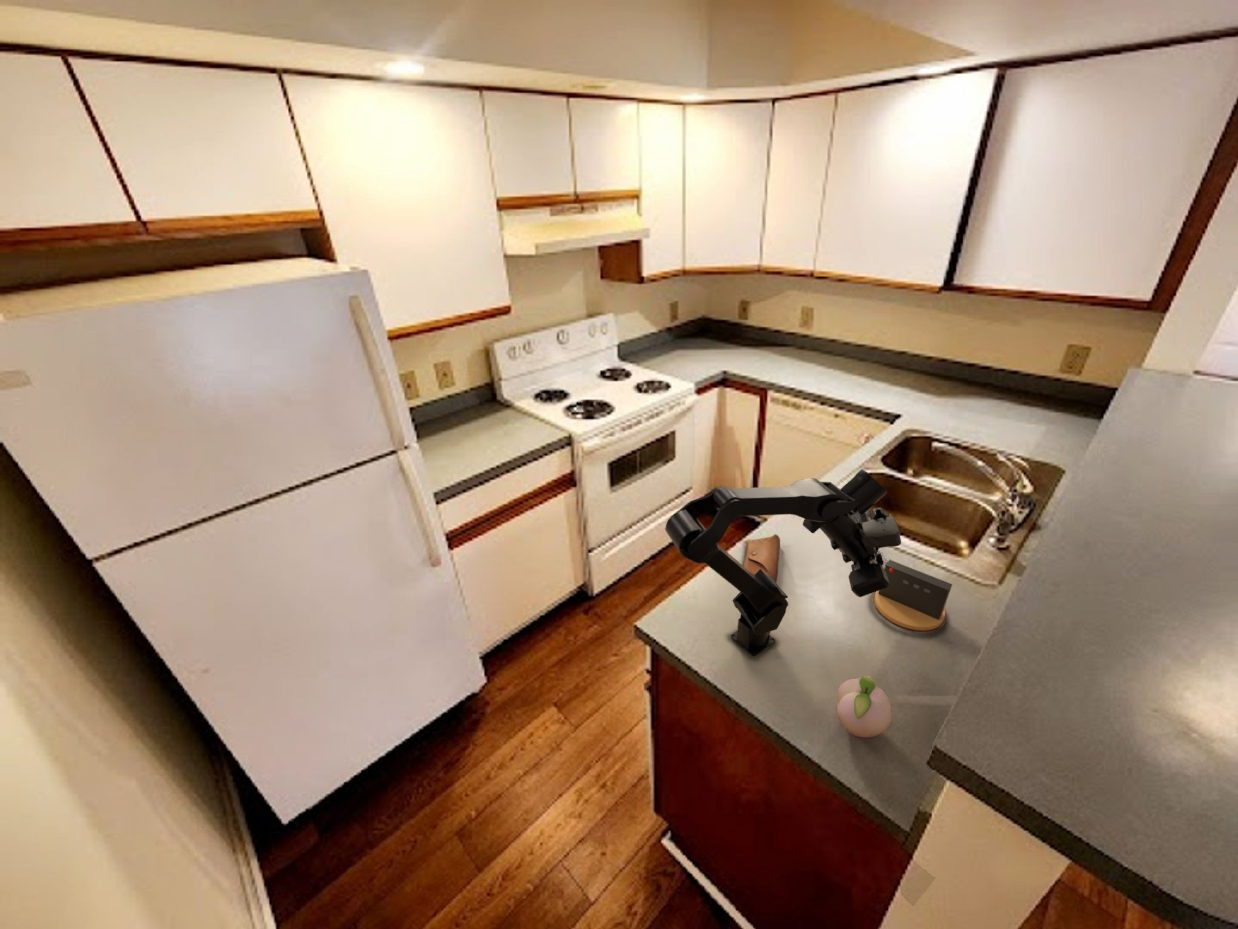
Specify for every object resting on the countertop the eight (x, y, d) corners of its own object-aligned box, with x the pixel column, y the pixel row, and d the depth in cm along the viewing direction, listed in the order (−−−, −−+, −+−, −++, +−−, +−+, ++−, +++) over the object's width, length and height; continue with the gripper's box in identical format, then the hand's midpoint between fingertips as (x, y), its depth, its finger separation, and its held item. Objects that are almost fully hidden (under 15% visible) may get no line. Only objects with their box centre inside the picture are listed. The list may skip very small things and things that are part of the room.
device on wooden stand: (932, 641, 105) (944, 607, 100) (864, 609, 113) (872, 577, 108) (951, 604, 113) (963, 571, 109) (887, 577, 121) (895, 546, 117)
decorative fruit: (885, 760, 85) (899, 720, 81) (831, 743, 88) (841, 704, 83) (883, 711, 93) (895, 672, 88) (834, 697, 96) (842, 659, 91)
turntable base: (921, 646, 105) (922, 643, 104) (857, 606, 115) (858, 602, 115) (958, 615, 112) (959, 611, 111) (894, 579, 122) (895, 576, 121)
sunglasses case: (745, 538, 136) (760, 522, 133) (768, 553, 137) (784, 537, 133) (737, 585, 122) (754, 568, 118) (763, 602, 122) (781, 585, 118)
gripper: (894, 546, 88) (938, 600, 94) (871, 478, 103) (911, 528, 108) (832, 571, 94) (877, 621, 99) (819, 504, 109) (859, 550, 114)
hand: (883, 577), depth 105 cm, fingers closed
